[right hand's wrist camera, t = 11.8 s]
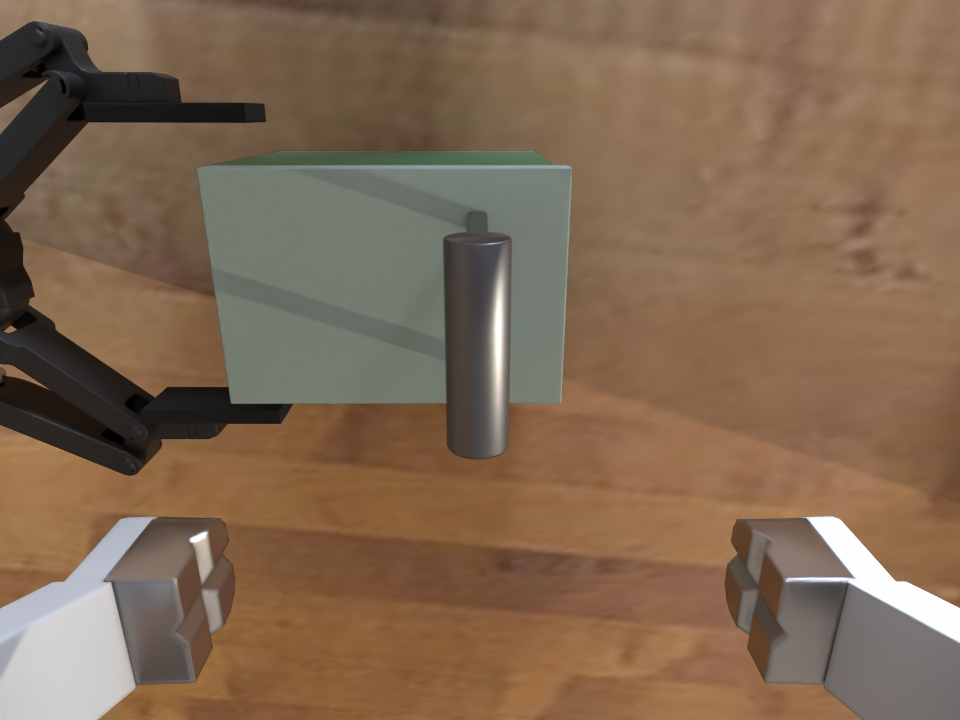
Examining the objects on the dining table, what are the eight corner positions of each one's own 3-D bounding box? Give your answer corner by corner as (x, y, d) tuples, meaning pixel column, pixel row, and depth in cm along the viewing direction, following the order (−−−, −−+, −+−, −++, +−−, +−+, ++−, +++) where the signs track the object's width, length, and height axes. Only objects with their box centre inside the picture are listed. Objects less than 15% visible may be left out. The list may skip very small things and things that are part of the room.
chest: (535, 150, 34) (555, 164, 25) (530, 324, 38) (547, 392, 28) (280, 150, 34) (208, 164, 25) (297, 324, 38) (240, 392, 28)
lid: (568, 164, 25) (609, 188, 17) (558, 392, 28) (589, 500, 21) (207, 165, 25) (84, 189, 17) (240, 393, 28) (148, 501, 21)
